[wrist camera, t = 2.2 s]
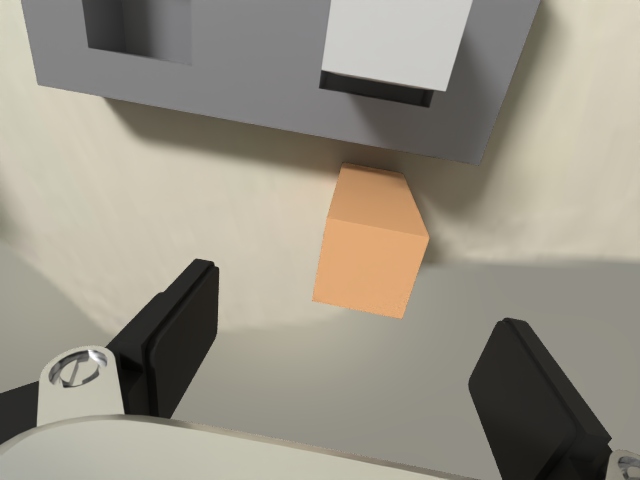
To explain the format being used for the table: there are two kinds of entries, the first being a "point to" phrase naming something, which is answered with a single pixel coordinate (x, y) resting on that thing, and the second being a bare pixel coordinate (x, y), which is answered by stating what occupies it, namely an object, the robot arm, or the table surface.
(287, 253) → the table surface
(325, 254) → the plug
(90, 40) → the power strip
